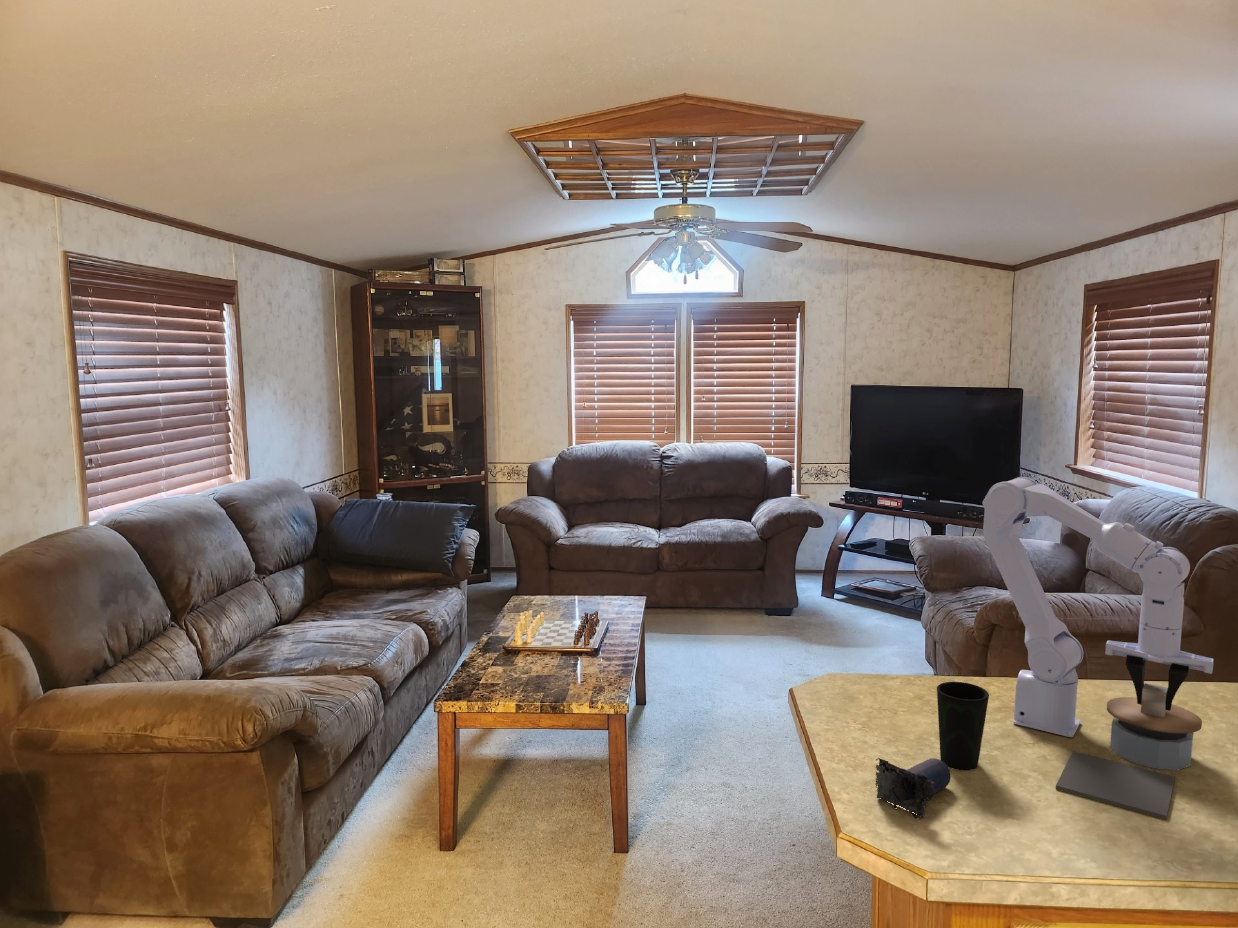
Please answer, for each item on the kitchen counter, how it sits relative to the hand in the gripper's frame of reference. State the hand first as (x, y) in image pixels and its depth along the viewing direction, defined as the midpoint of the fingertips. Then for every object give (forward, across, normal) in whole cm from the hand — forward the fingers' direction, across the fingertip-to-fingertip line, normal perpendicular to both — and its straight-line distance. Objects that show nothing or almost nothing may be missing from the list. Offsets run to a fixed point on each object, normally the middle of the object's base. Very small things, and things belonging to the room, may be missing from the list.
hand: (1154, 705), depth 136 cm
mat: (+8, -3, -15) cm, 17 cm away
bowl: (+8, 0, 0) cm, 8 cm away
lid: (+2, 0, 0) cm, 2 cm away
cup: (+8, -24, -22) cm, 34 cm away
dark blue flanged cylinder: (+9, -26, -36) cm, 45 cm away
